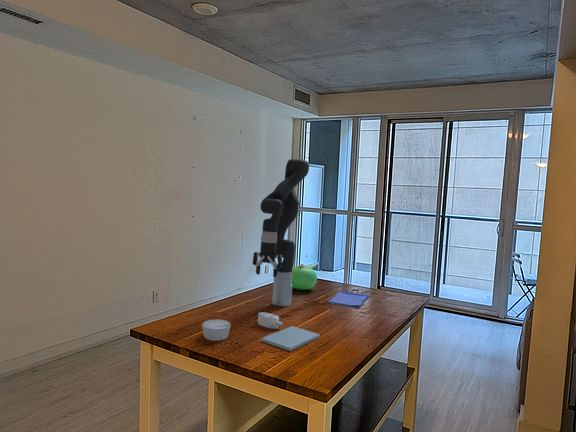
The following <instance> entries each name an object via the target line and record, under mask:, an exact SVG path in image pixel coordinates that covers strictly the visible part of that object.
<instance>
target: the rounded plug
mask: <svg viewBox="0 0 576 432" xmlns="http://www.w3.org/2000/svg"><path fill="white" fill-rule="evenodd" d="M257 325H259V326H261V327H265V328H267V329H271V330H276V329H279V327H282V326H284V322H282V321H280V316H278V315H276V314H273V313H269V312H265V311H263V312H262V311H261V312H258V314H257Z"/></svg>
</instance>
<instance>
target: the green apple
mask: <svg viewBox="0 0 576 432" xmlns="http://www.w3.org/2000/svg"><path fill="white" fill-rule="evenodd" d="M316 267H317V265H316V264H313V265H310V266H306V265H301V264H300V265H296V266H294V265H293V268H292V289H295V290H297V291H298V290H299V291H306V290H311V289H312V288H314V287H315V286H316V284H317V282H318V276H317V273H316V271H315V270H314V269H315V268H316Z"/></svg>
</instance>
